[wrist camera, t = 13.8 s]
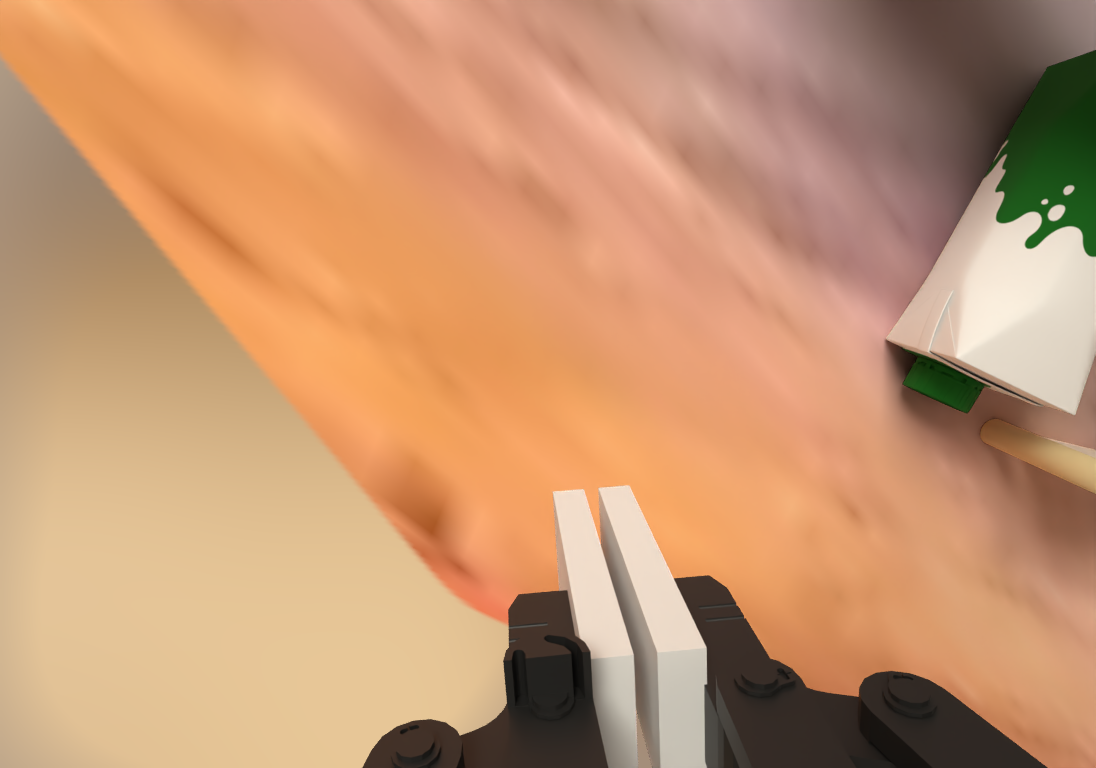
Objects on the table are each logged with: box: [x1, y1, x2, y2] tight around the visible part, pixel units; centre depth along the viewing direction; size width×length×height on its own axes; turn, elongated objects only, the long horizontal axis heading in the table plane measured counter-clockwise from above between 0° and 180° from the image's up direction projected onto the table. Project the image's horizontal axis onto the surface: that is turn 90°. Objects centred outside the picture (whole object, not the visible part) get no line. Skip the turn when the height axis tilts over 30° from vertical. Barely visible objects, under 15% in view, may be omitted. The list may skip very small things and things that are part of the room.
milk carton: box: [886, 50, 1096, 415], centre depth 39 cm, size 9×9×20 cm
